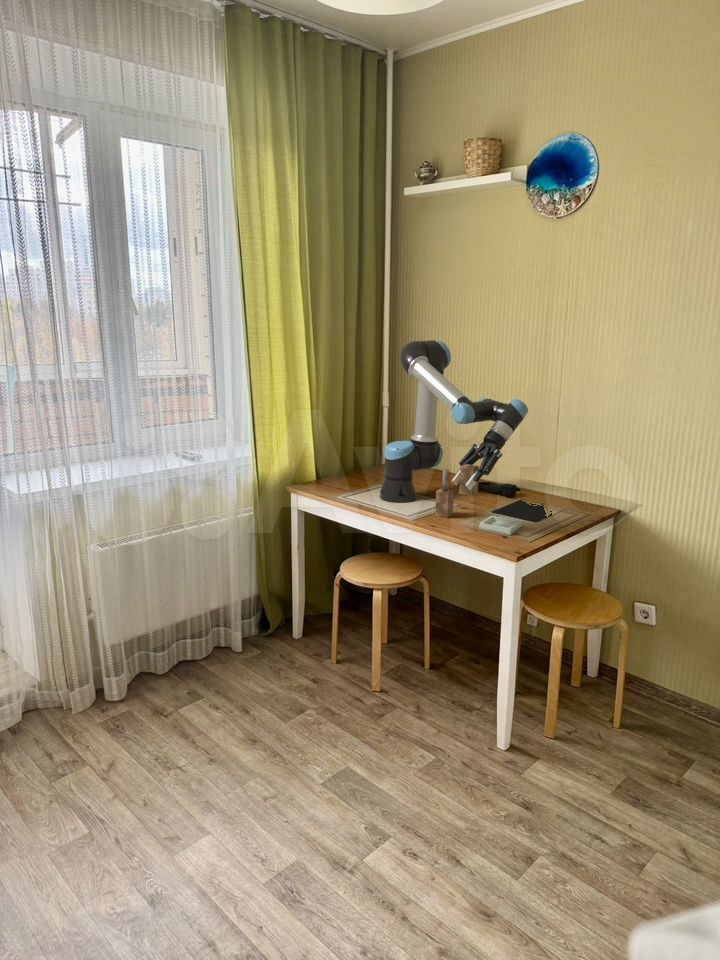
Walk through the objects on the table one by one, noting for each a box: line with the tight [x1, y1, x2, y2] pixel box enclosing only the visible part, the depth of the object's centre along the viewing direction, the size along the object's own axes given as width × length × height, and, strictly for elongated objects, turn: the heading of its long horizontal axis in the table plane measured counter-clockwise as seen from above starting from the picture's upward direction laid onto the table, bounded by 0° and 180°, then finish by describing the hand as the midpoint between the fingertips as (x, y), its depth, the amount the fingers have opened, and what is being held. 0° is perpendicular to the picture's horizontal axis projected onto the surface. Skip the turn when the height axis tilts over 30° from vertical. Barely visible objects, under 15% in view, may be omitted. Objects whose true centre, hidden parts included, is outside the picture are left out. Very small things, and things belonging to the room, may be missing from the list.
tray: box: [478, 515, 522, 536], centre depth 252 cm, size 12×12×2 cm
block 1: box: [434, 468, 455, 519], centre depth 265 cm, size 5×5×18 cm
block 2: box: [458, 464, 480, 497], centre depth 249 cm, size 5×5×10 cm
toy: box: [458, 481, 521, 499], centre depth 304 cm, size 10×5×30 cm
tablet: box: [490, 499, 553, 524], centre depth 275 cm, size 27×1×20 cm
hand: (461, 485), depth 247 cm, fingers closed on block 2, 7 cm apart
